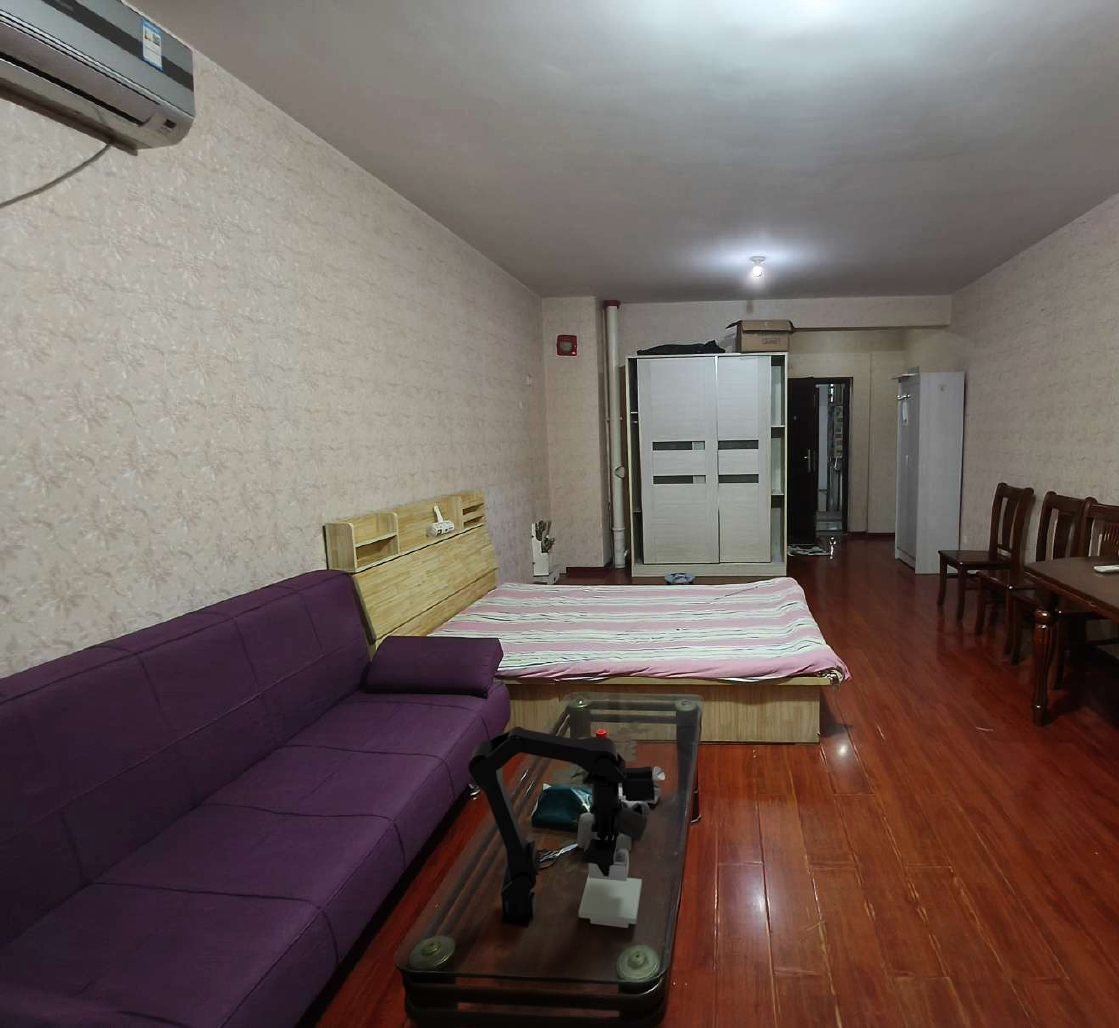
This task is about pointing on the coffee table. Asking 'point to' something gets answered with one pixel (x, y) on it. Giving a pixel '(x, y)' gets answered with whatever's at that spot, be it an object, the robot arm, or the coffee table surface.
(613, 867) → the block
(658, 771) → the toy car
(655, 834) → the coffee table surface
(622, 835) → the digital clock
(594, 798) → the robot arm
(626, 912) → the stand
